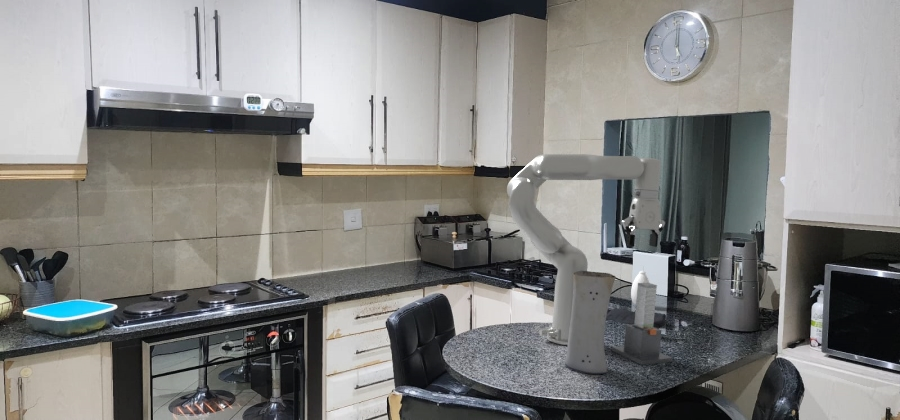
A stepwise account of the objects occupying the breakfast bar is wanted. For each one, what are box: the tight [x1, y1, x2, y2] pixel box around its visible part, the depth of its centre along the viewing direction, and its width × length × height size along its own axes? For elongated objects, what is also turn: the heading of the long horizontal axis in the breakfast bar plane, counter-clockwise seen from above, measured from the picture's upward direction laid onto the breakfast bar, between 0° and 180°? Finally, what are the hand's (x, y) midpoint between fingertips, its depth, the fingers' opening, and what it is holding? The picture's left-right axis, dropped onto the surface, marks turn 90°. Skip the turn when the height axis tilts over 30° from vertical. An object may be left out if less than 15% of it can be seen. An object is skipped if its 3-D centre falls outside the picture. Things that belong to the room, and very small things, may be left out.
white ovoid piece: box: [630, 266, 650, 306], centre depth 261 cm, size 8×8×18 cm
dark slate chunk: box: [606, 307, 667, 330], centre depth 237 cm, size 15×22×5 cm
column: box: [634, 282, 658, 331], centre depth 191 cm, size 4×4×16 cm
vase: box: [564, 270, 616, 375], centre depth 177 cm, size 13×14×28 cm
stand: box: [611, 324, 673, 366], centre depth 192 cm, size 12×14×10 cm
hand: (641, 246), depth 203 cm, fingers open, 9 cm apart
